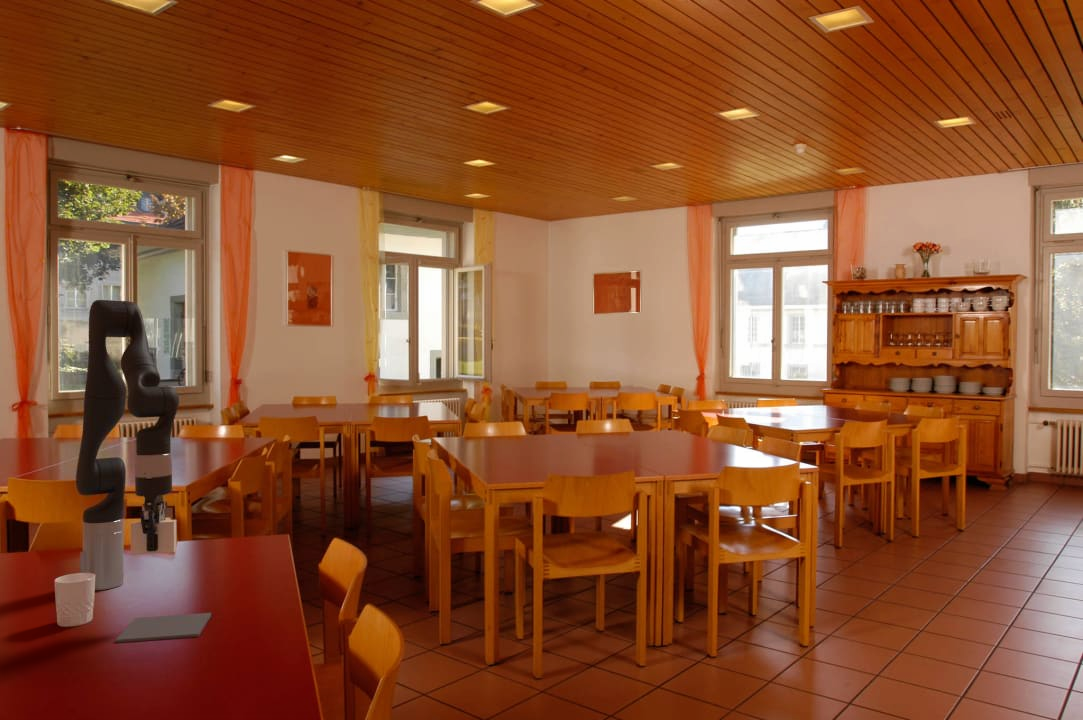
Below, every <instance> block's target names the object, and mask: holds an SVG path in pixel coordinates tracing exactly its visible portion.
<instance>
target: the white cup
mask: <svg viewBox="0 0 1083 720" xmlns="http://www.w3.org/2000/svg"><path fill="white" fill-rule="evenodd" d="M95 591H96V590H95V574H92V573H80V572H78V573H71V574H65V575H62V576H59V577H56V578H54V594H55V595H54V598H55V609H56V620H57V621H56V624H57V626H59V627H64V628H70V627H77V626H82V625H86V624H88V623H90V622H92V620H93V617H94V606H95V596H96V595H95V594H96V593H95Z"/></svg>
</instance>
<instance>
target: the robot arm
mask: <svg viewBox="0 0 1083 720" xmlns="http://www.w3.org/2000/svg"><path fill="white" fill-rule="evenodd" d="M89 308H90V309H89V314H88V359H87V360H88V361H87V370H86V371H87V373H86V380H85V382H86V383H85V389H84V390H85V391H84V399H83V417H82V418H83V420H82V421H83V422H82V433H81V442H80V447H79V453H78V460H77V465H76V473H75V485H76V490H77V492H78V494H79V495H82V496H95V495H103V494H105V495H106V497H105V498H103V500H101V501H100V502H98V503H96V504H95V505H92V506H90V507H88V508H86V509H85V510H84V511H83V514H82V550H81V552H80V553H79V573H92V574H95V591H102V590H109V589H114V588H116V587H120V586H122V585H123V584H124V575H125V574H124V565H125V564H124V560H125V559H124V554H125V553H124V551H125V550H124V540H125V539H124V538H125V537H124V534H125V533H124V529H125V528H124V525H125V524H124V523H125V522H124V518H125V517H124V516H125V515H124V511H125V497H126V495H125V494H126V477H127V471H126V464H125V462H124V460H123V459H122V458H120V457H116V456H114V457H102V458H97V457H98V453H99V450H100V448H101V446H102V444H103V442H105V441H104V440H105V439H106V438H107V436H108V435H109V434H110V433H111V431H113V430H114V428H115V427H116V426H117V424H119V422H120V420H121V419H122V418H123V416H124V414H125V411H126V407H127V410H128V412H129V413H130V415H132V416H134V417H136V418H139V419H140V418H141V419H143V418H146V419H147V418H158V420H157V421H156V423H155V424H154V425H151V426H147V427H145V428H141V429H139V430H137V432H136V438H135V439H136V440H135V443H136V447H135V448H136V452H135V453H136V454H135V455H136V456H135V463H134V464H135V465H134V473H135V474H134V477H135V478H134V479H135V480H134V481H135V482H134V485H135V487H134V489H135V492H134V493H135V494H134V495H136V496H138V497H143V498H144V503H143V504H142V505H141V507H142V508H141V510H140V512H139V516H140V517H139V518H140V522H141V524H142V530H143V534H145V535H147V551H148V552H150V551H156V550H158V524H159V523H160V522H161V521H162V520H166V517H167V516H166V515H167V507H168V502H167V501H164V496H167V495H169V494H171V493H172V492H173V462H172V456H171V452H172V451H171V450H172V449H171V444H172V443H171V437H172V431H173V426H174V422H175V418H176V415H177V413H178V409H179V404H180V398H179V394H178V392H177V390H176V389H175V388H173V386H168V385H166V386H165V385H164V386H163V385H161V386H159V385H160V383H161V376H160V373H159V370H158V368H157V366H156V364H155V361H154V360H153V356H152V353H151V350H150V347H149V341H148V335H147V331H146V327H145V322H144V318H143V314H142V312H141V309H140V307H139V305H138V304H137V303H135V302H133V301H129V300H128V301H127V300H114V299H112V300H111V299H96V300H95V301H93V302H92V303H91V305H90V307H89ZM107 338H129V339H130V342H129V343H128V345H127V346H126V348H125V349H124V351H123V353H122V355H121V358H120V367H121V371H122V374H123V376H124V379H125V380H124V379H123V377H122V375H121V374H120V372H119V370H117V367H115V365H114V363H113V361H112V359H111V358H110V356H109V353H108V349H107V343H106V341H107ZM125 381H126V383H125ZM126 400H127V401H126ZM126 402H127V403H126ZM126 404H127V406H126ZM149 526H151V527H152V528H149Z"/></svg>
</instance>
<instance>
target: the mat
mask: <svg viewBox="0 0 1083 720" xmlns="http://www.w3.org/2000/svg"><path fill="white" fill-rule="evenodd" d="M211 617H212V612H201V613H200V612H199V613H189V614H172V615H157V616H155V615H154V616H144V617H143V616H142V617H135V618H134V619H133V620H132V621H131V622H130V624H129V625H128V626H127V627H125V629H124V630H123V631H122V632H121V634H119V636H118V637H117V638H116V639H115V643H117V644H118V643H130V642H131V643H132V642H142V641H143V642H144V641H145V642H146V641H156V640H157V641H158V640H171V639H183V638H197V637H199V636H200V635H201V633H202V632H203V630H204V628H205V627H206V625H207V623H208V622H209V619H210V618H211Z"/></svg>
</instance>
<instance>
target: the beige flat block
mask: <svg viewBox="0 0 1083 720" xmlns="http://www.w3.org/2000/svg"><path fill="white" fill-rule="evenodd" d="M149 528H152V527H151V526H149ZM176 551H177V519H165V520H162V521H161V522H160V523H159V524H158V550H156V551H150V552H148V551H147V535H145V534H143V530H142V524H141V521H133V522H131V523H130V555H131V556H135V555H136V556H137V555H153V554H154V555H155V554H168V553H169V554H171V553H172V554H173V553H175V552H176Z"/></svg>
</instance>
